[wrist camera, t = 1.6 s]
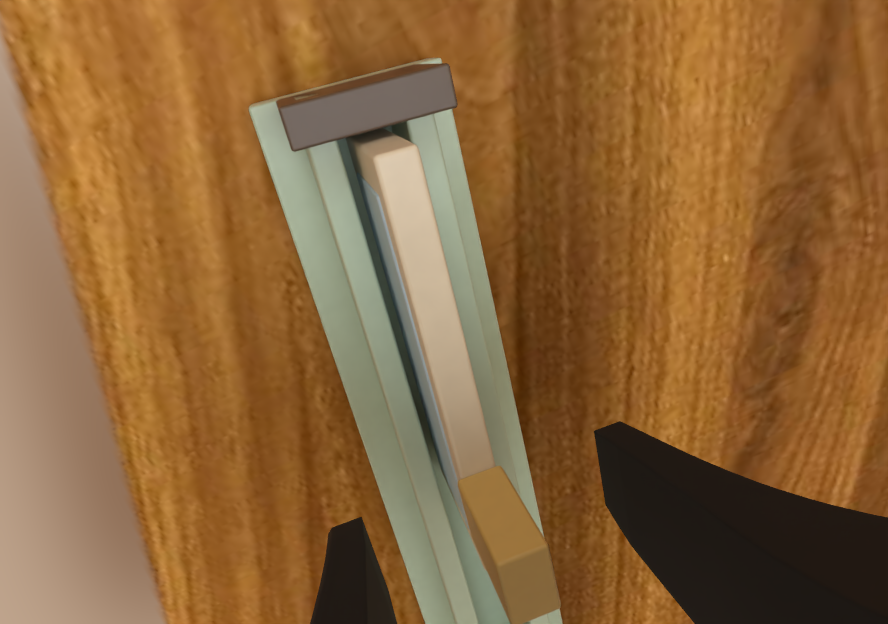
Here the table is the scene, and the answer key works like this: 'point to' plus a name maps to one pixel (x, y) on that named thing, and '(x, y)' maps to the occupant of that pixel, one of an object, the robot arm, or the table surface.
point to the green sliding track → (374, 317)
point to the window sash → (449, 374)
